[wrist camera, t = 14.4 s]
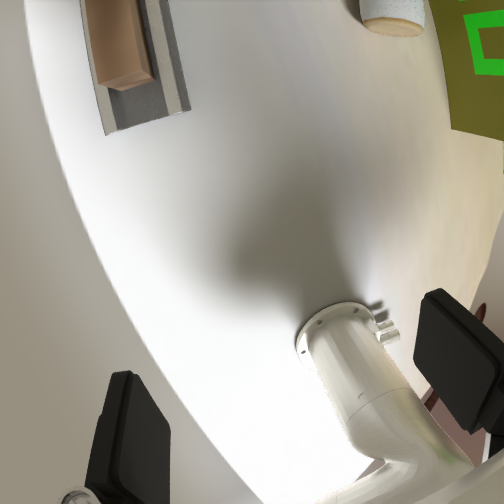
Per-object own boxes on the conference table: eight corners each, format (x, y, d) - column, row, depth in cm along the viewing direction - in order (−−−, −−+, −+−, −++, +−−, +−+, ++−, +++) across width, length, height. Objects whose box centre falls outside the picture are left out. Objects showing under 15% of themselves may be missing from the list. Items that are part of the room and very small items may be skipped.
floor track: (158, -47, 20) (155, -61, 17) (191, 109, 29) (190, 109, 26) (80, -21, 20) (70, -32, 16) (107, 134, 28) (98, 137, 25)
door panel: (136, -18, 21) (121, -50, 14) (155, 80, 26) (142, 69, 19) (104, -7, 21) (81, -35, 13) (121, 91, 26) (98, 84, 19)
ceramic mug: (350, 31, 27) (387, 17, 21) (344, -26, 24) (377, -48, 17) (421, 47, 29) (462, 42, 22) (414, -6, 25) (452, -18, 19)
